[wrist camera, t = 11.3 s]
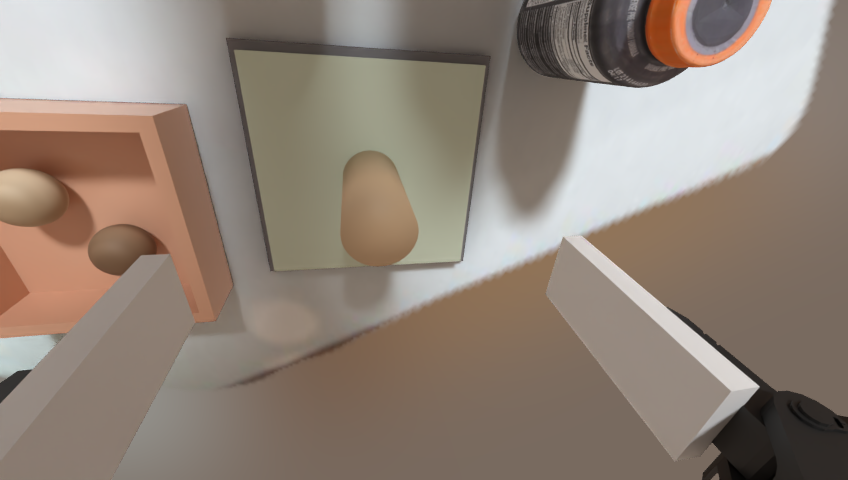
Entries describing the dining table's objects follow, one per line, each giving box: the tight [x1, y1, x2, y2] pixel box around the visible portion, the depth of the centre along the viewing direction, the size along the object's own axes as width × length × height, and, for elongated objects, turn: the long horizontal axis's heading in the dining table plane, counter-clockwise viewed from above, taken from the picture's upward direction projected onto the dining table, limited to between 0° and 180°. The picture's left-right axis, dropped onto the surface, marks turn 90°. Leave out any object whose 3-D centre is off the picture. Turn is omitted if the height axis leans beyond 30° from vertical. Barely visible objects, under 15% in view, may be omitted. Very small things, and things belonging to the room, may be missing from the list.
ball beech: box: [0, 168, 69, 227], centre depth 19 cm, size 3×3×3 cm
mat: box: [226, 38, 490, 271], centre depth 24 cm, size 15×15×1 cm
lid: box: [234, 50, 486, 271], centre depth 19 cm, size 14×14×9 cm
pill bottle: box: [517, 0, 772, 88], centre depth 17 cm, size 6×6×11 cm
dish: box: [0, 98, 233, 338], centre depth 20 cm, size 13×13×4 cm
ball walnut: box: [88, 224, 157, 276], centre depth 21 cm, size 3×3×3 cm
